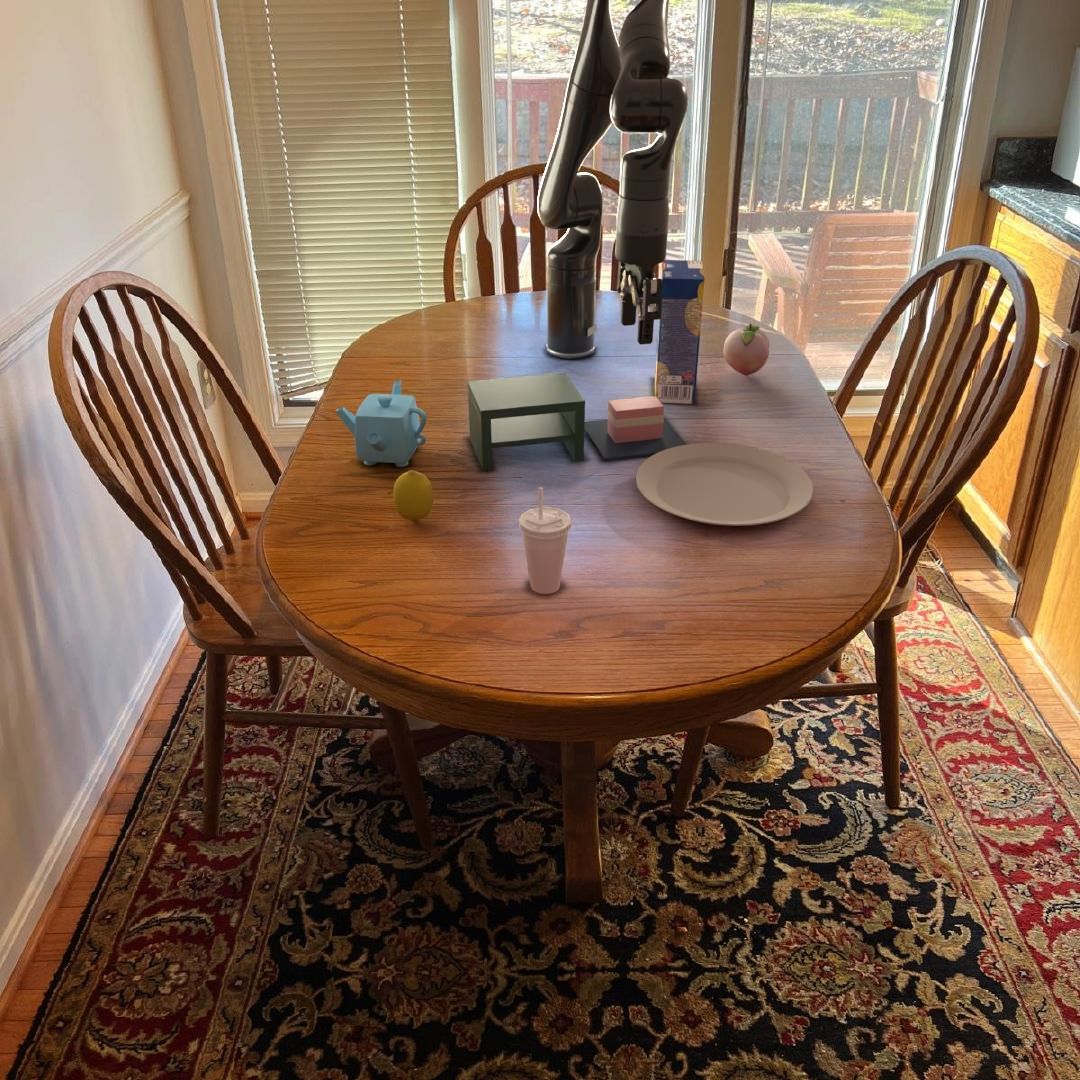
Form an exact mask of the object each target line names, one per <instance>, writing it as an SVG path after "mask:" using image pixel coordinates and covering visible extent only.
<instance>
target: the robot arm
mask: <svg viewBox="0 0 1080 1080" xmlns="http://www.w3.org/2000/svg"><path fill="white" fill-rule="evenodd" d="M610 7H611V6H610V0H587V1H586V5H585V11H584V17H583V23H582V27H581V31H580V35H579V38H578V43H577V47H576V50H575V54H574V57H573V62H572V65H571V70H570V74H569V79H568V82H567V87H566V90H565V96H564V100H563V101H564V102H563V107H562V110H561V116H560V119H559V123H558V128H557V132H556V135H555V138H554V143H553V146H552V149H551V151H550V155H549V158H548V161H547V164H546V167H545V170H544V173H543V176H542V178H541V181H540V185H539V189H538V195H537V214H538V217H539V220H540V222H541V224H542V225H543V227H545V228H546V229H548V230H552V231H559V230H567V231H566V233H565V234H564V235H563V236H562V237H561V238H560V239H559V240H558V241H556V242H555V243H552V245H551V246H549V247H548V249H547V251H546V299H547V300H546V303H547V304H546V352H547V354H549V355H550V356H553V357H556V358H559V359H560V358H561V359H567V360H569V359H581V358H586V357H589V356H591V355H592V354H594V353H595V347H596V346H595V333H597V323H595V322H596V287H597V286H596V283H597V281H596V280H597V278H596V274H597V256H598V254H599V250H600V247H601V238H602V237H601V234H602V224H603V223H602V222H603V211H604V208H603V207H604V201H603V199H604V198H603V192H602V187H601V184H600V183H599V180H598V179H597V177H596V176H595V175H593V174H591V173H590V172H579V171H580V169H581V166H582V165H583V163H584V161H585V160H586V158H587V157H588V155H589V154H590V153H591V151H592V150H593V149H594V148H595V146H596V145H597V144H598V143H599V141H600V140H601V139H602V138H603V137H604V136H605V134H606V133H607V131H608V130H609V129H610V128H611V126H612V124H613V126H614V127H615V128H616V129H617V130H618V131H620V132H621V133H624V134H658V136H657V137H656V139H655V140H654V142H653V143H652V144H650V145H648V146H646V147H642V148H639V149H638V148H637V149H633V150H630V151H627V152H626V153H625V154H623V156H622V158H621V161H620V171H619V172H620V174H619V196H618V203H617V208H616V209H617V210H616V222H615V225H616V228H615V247H614V248H615V250H614V256H615V259H616V260H617V262H618V265H617V266H618V267H617V283H616V293H617V294H619V299H620V301H621V314H620V323H621V325H622V326H624V327H628V326H634V325H636V322H637V337H636V339H637V340H636V341H637V343H638V344H639V345H641V346H642V345H650V344H652V343H653V341H654V327H655V321H658V319H660V317H661V296H662V279H661V277H660V278H657V276H656V273H655V269H654V268H655V266H657V265H658V264H662V262H663V261H664V260H666V258H667V248H668V247H667V246H668V233H669V220H670V219H669V218H670V206H669V205H670V204H669V190H670V179H671V178H670V177H671V168H672V167H671V166H672V161H673V156H674V152H675V148H676V146H677V145H676V144H677V141H678V138H679V135H680V132H681V130H682V128H683V124H684V122H685V121H684V120H685V118H686V115H687V113H688V112H687V111H688V106H689V94H688V91H687V88H686V86H685V84H684V83H683V82H682V81H681V80H680V79H678V78H676V77H669V75H670V72H671V71H670V70H671V53H670V44H669V33H668V17H669V8H670V0H640V1H639V2H638V3H637V4H635V6H634V7H633V8H632V9H631V10H630V11H629V12H628V13H627V15H626V16H625V18H624V20H623V21H622V24H621V26H620V30H619V34H618V35H619V36H618V39H617V37H616V32H615V30H614V24H613V20H612V16H611V8H610ZM637 318H638V321H637Z"/></svg>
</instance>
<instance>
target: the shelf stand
mask: <svg viewBox="0 0 1080 1080" xmlns="http://www.w3.org/2000/svg"><path fill="white" fill-rule="evenodd" d="M467 401H468V403H467V404H468V405H467V406H468V420H469V421H468V422H469V423H468V424H469V425H468V427H469V439H470V442H471V444H472V445H471V446H472V447H473V450H474V452H475V455H476V457H477V460H478V462H479V464H480V467H481V469H482V471H483V472H486V471H487V472H488V471H493V469H494V468H493V450H494V449H503V448H514V447H522V446H532V445H542V444H552V443H561V442H562V443H564V445H565V448H566V449H567V451H568V453H569V454H570V456H571V458H572V459H573V461H574V462H581V461H584V460H585V430H584V428H585V422H586V419H585V418H586V400H585V398H584V397H583V396H582V394H581V393H580V391H579V390H578V388H577V387H576V386H575V384H574V382H573V381H572V380H571V378H570V376H569V375H568V374H567V372H566V371H565V372H554V373H543V374H542V373H541V374H532V375H521V376H510V377H498V378H488V379H475V380H468V381H467Z"/></svg>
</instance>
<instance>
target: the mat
mask: <svg viewBox="0 0 1080 1080" xmlns="http://www.w3.org/2000/svg"><path fill="white" fill-rule="evenodd" d="M607 426H608V418H607V419H599V420H589V421H587V420H586V421H585V428H584V433H585V434H586V435H587V436H588V438H589V440H590V441H591V443H592V444H593V446H594V447H595V449H596V451H597V452H598V454H599V455H600V457H601V458H602V460H603V461H604V462H607V461H616V460H626V459H636V458H644V457H651V456H652V455H654V454H656V453H658V452H661V451H663V450H666V449H669V448H673V447H677V446H682V445H686V443H685V442H684V441H683V440H682V439H681V437H680V436H679V434H677V432H676V431H675V430H674V428H673V427H672V426H671V425H670V424H669V422H668V421H667V420H666V418H664V423H663V434H662V438H660V439H651V440H641V441H632V442H622V443H614V441H613V440H612V438H611V437H610V435H609V434H608V432H607Z"/></svg>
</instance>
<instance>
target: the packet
mask: <svg viewBox="0 0 1080 1080" xmlns="http://www.w3.org/2000/svg"><path fill="white" fill-rule="evenodd" d="M606 413H607V414H606V415H607V419H608V426H607V432H608V434H609V435H610V437H611V438H612V440H613V441H614V443H622V442H632V441H641V440H651V439H660V438H662V434H663V423H664V419H665V415H664V414H665V406H664V404H663V403H661V402H660V401H659V400H658V399H657V397H656V396H655V395H651V396H641V397H631V398H630V397H629V398H621V399H610V400H608V401H607V412H606Z"/></svg>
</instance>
